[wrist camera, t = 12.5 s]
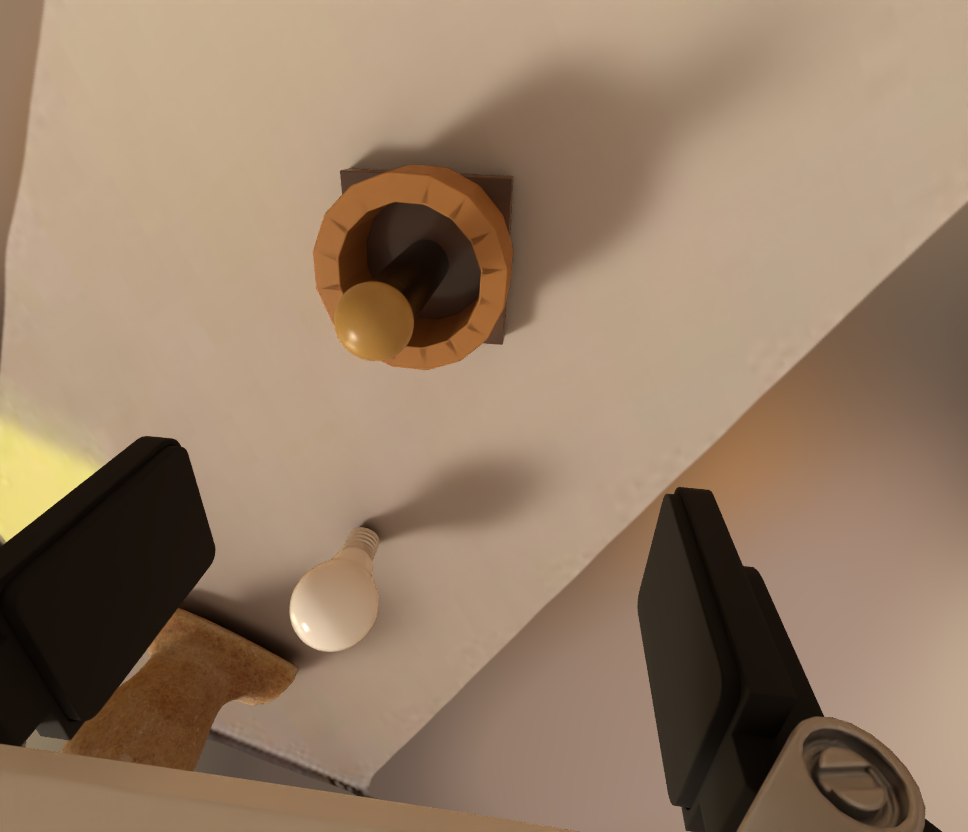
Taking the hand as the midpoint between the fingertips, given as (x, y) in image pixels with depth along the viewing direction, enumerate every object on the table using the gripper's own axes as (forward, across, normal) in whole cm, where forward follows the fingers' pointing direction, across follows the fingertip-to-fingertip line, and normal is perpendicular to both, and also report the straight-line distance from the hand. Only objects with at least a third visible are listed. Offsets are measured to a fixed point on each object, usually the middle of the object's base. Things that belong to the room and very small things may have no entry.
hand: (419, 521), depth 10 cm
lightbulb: (+26, +11, +25) cm, 38 cm away
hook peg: (+25, +5, +1) cm, 25 cm away
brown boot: (+26, +28, +43) cm, 58 cm away
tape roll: (+25, +5, +1) cm, 25 cm away
